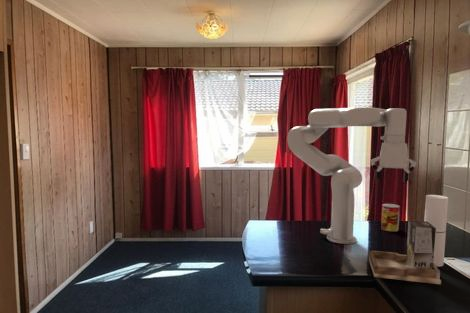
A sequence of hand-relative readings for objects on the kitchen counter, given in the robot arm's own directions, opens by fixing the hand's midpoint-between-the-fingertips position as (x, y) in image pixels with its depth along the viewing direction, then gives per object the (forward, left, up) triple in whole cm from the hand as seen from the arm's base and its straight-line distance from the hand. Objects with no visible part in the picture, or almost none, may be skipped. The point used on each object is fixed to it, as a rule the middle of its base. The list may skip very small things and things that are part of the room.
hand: (391, 181), depth 143 cm
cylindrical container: (+14, -10, -28) cm, 33 cm away
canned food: (+6, +33, -28) cm, 44 cm away
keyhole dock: (+1, -22, -28) cm, 36 cm away
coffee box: (+6, -22, -27) cm, 35 cm away
